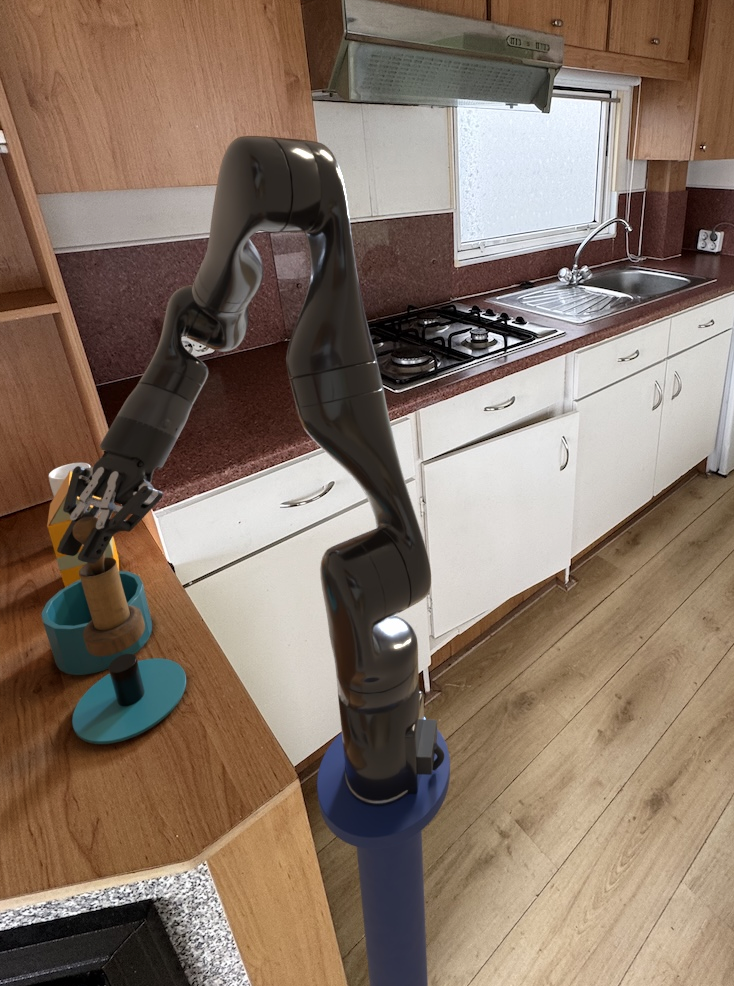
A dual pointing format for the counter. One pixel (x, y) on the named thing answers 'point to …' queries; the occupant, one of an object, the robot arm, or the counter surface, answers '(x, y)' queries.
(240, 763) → the counter surface
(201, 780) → the counter surface
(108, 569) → the mortar and pestle
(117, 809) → the counter surface
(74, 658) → the pot
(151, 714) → the lid
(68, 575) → the orange juice
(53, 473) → the drinking glass
